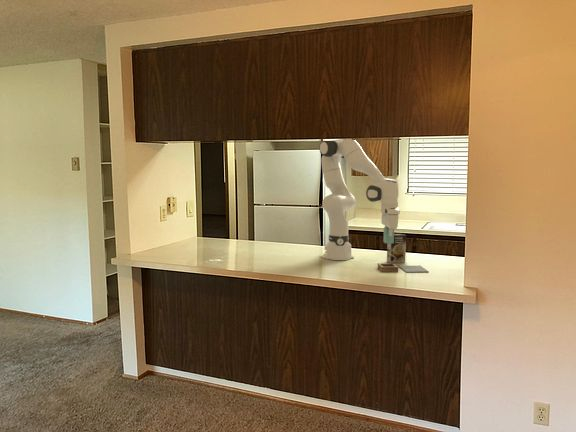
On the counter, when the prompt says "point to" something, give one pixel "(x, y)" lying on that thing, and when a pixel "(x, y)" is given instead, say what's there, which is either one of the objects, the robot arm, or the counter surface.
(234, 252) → the counter surface
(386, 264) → the walnut collar
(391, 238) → the teal block
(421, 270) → the slate mat
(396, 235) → the coffee box
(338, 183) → the robot arm
